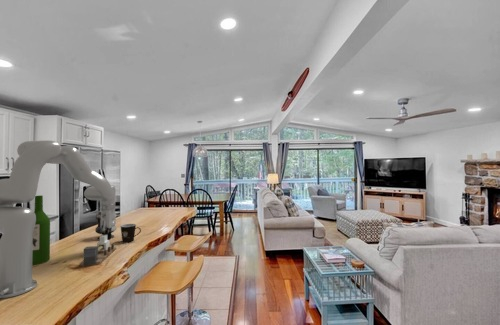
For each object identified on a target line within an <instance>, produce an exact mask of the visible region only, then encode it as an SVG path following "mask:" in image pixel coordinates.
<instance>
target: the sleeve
mask: <svg viewBox="0 0 500 325" xmlns="http://www.w3.org/2000/svg"><path fill="white" fill-rule="evenodd" d="M101 235H102V234H101ZM101 235H100V240H99V241H98V242H97V244H96V246H98V248H99V247H100V246H101V245H104V248H102V249H101V250H100V251H104V250H108V247H111V246H110V245H111V244H110V242H111V241H110V240H111V239H110V240H107V235H102V236H101Z"/></svg>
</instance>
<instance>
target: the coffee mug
mask: <svg viewBox="0 0 500 325" xmlns="http://www.w3.org/2000/svg"><path fill="white" fill-rule="evenodd" d="M136 226H137V224H136V223H125V224H121V225H120V232H121V240H122V243H123V244H128V243H132V242H134V241H135V237H136V236H139V234H140V233H141V231H142V229H141V228H140V227H138V226H137V227H136ZM137 229H138V230H139V232H138V233H136V230H137ZM135 233H136V234H135Z"/></svg>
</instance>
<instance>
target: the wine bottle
mask: <svg viewBox="0 0 500 325" xmlns="http://www.w3.org/2000/svg"><path fill="white" fill-rule="evenodd" d="M43 200H44V196H43V195H35V198H34V210H33V212H34V213H35V215H36V223H35V227H34V231H33V254H32V266H34V265H35V266H36V265H40V264H43V263H47V262H49V260H50V257H51V251H50V250H51V220H50V217H49V216H48V215H47V214H46V213H45V211H44V204H43V202H44V201H43Z"/></svg>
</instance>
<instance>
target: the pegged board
mask: <svg viewBox="0 0 500 325" xmlns="http://www.w3.org/2000/svg"><path fill="white" fill-rule="evenodd" d="M110 245H111V246H110V247H108V250H104V251H100V250H101V249H102V248H104V245H101V246H100V247H99V248H98V246H97V245H95V246H91V245H90V246H86V247H84V248H83V260H82V261H80V262H78V263H79V266H80V267H81V266H83V267H84V266H95V265H101V264H102V263H103V262H104V261H105V260H106V259H107V258H108V257H110V255H112V253H114V252H115V251H116V250H117V246H115V243H111V244H110Z"/></svg>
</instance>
